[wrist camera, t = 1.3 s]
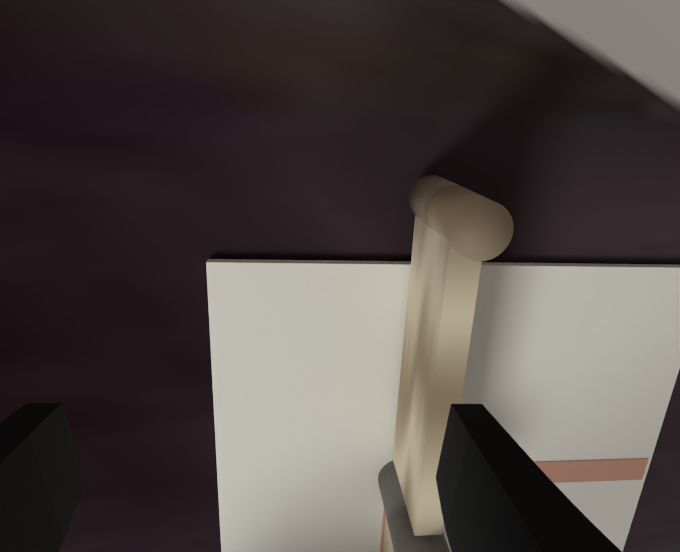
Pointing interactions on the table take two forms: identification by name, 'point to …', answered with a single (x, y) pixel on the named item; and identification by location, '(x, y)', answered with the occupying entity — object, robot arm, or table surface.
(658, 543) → the table surface
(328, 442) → the mat
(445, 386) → the beige long t-shaped piece
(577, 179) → the table surface
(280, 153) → the table surface
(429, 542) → the fixed fence section
